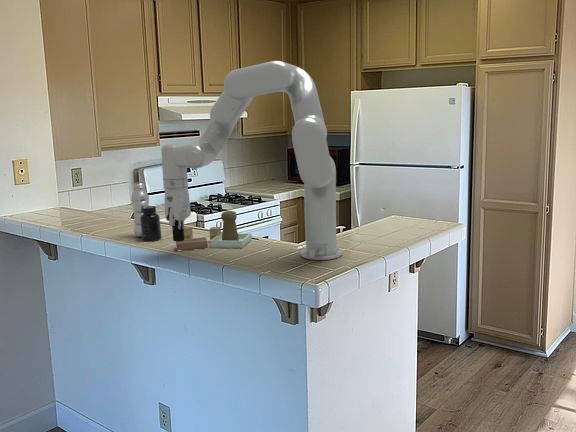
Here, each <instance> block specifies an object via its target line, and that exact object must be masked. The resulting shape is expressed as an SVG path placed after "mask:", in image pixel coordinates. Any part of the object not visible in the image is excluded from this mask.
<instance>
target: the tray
mask: <svg viewBox="0 0 576 432" xmlns="http://www.w3.org/2000/svg"><path fill="white" fill-rule="evenodd" d="M237 233H238V238H239V241H227V240H222V232H221V234H220V235H219V236H216V237H215V238H213V239H212V240H210V239H209V246H210V247H209V248H210V249H244V248H246V246H247V245H248V244H250V243H251V242H252V241H253V239H252V237H253V236H252V233H241V232H240V233H239V232H237Z"/></svg>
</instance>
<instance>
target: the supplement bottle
mask: <svg viewBox="0 0 576 432" xmlns="http://www.w3.org/2000/svg"><path fill="white" fill-rule="evenodd" d="M142 213H143V215H141V217H140V222H141V231H142V237H141V238H142V241H143V240H144V241H143V242H148V241H149V242H155V241H154V240H157V241H159V239H160V240H161V239H162V229H161V220H160V219H161V218H160V214H158V213H157V208H156V206H155V205H149V206H146V207H142Z"/></svg>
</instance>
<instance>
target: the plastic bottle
mask: <svg viewBox="0 0 576 432" xmlns="http://www.w3.org/2000/svg"><path fill="white" fill-rule="evenodd" d="M133 189H134V190H133V192H132V193H131V196H130V201H131V204H132V209H133V216H134V219H133V220H134V223H133V232H134V235H135V236H136V237H139V238H142V231H141V222H140V217H141V215H143V213H142V207H146V206H150V205H149V203H150V196H149V194H148V193H147V191H146V190H145V183H144V182H134V183H133Z"/></svg>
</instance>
